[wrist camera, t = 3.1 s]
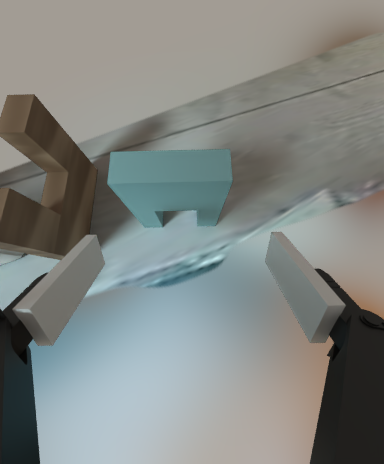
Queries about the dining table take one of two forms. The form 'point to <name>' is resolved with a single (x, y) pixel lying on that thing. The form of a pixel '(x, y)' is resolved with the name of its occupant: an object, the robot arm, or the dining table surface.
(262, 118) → the dining table surface
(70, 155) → the walnut slotted board
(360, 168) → the dining table surface
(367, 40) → the dining table surface
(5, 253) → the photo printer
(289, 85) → the dining table surface
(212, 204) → the teal slotted plate
